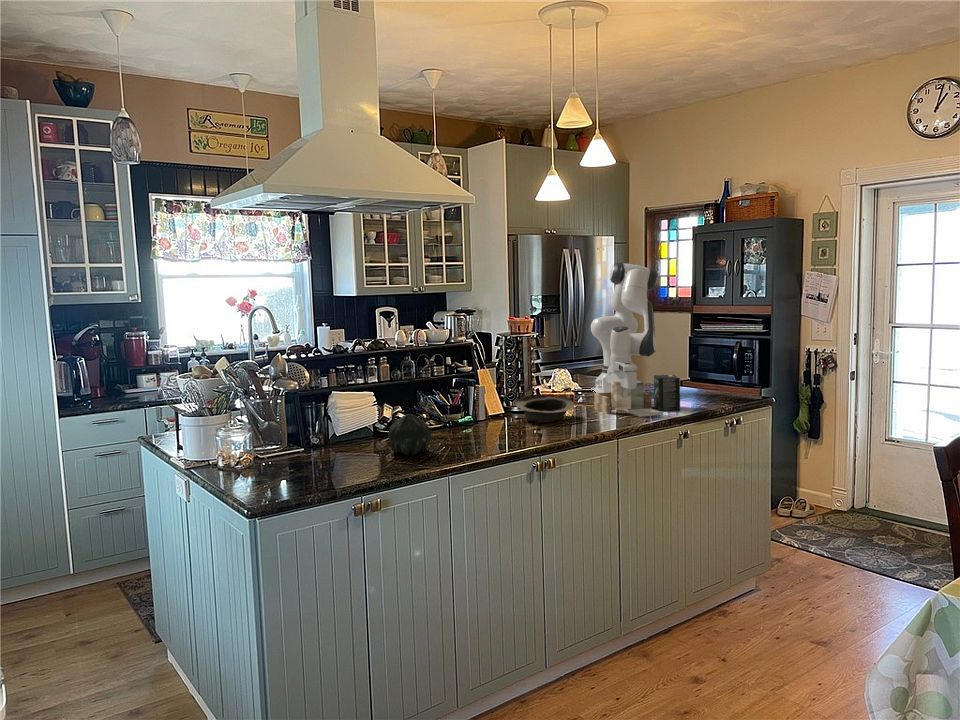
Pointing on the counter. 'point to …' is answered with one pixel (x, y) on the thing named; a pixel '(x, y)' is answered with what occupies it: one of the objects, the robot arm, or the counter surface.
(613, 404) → the block
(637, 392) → the shelf
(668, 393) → the tampon box
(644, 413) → the tile
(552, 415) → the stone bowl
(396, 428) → the squash
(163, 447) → the counter surface
